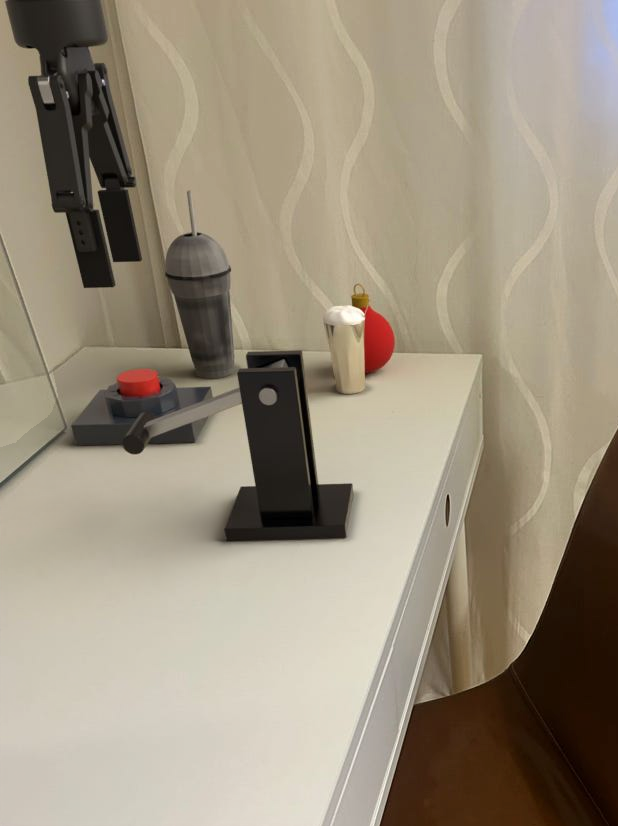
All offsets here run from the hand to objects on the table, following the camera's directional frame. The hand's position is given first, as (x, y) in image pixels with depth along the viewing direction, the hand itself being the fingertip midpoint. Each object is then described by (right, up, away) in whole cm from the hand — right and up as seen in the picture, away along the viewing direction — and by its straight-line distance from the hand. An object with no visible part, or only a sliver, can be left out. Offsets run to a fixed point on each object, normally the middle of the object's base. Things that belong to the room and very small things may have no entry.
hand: (114, 273), depth 93 cm
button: (0, -10, +7) cm, 12 cm away
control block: (0, -13, +9) cm, 15 cm away
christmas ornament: (+22, -4, +22) cm, 31 cm away
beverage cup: (+4, -4, +22) cm, 23 cm away
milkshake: (+21, -7, +17) cm, 28 cm away
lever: (+14, -17, -14) cm, 26 cm away
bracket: (+19, -25, -9) cm, 32 cm away
